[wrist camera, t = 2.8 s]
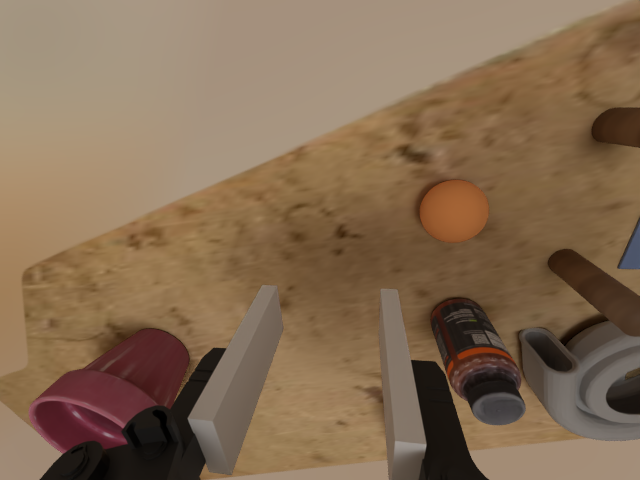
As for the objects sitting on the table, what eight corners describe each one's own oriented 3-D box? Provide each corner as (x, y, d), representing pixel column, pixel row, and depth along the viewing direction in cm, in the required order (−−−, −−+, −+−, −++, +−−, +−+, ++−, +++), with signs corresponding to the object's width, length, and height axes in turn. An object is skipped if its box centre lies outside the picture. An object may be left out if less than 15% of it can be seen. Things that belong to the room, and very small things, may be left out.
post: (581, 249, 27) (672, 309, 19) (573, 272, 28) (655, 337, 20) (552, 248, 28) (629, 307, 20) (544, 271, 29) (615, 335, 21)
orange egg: (480, 172, 26) (508, 188, 21) (470, 228, 28) (493, 254, 23) (417, 174, 26) (430, 190, 22) (412, 228, 29) (423, 253, 24)
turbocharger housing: (665, 386, 35) (688, 287, 29) (732, 442, 29) (777, 332, 23) (517, 405, 38) (512, 320, 32) (550, 460, 32) (551, 367, 26)
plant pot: (125, 372, 46) (47, 459, 35) (108, 305, 40) (6, 385, 29) (208, 391, 45) (156, 487, 34) (203, 325, 39) (138, 416, 28)
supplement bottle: (444, 342, 35) (477, 440, 25) (419, 309, 33) (445, 399, 23) (493, 324, 32) (551, 422, 22) (469, 287, 31) (521, 376, 21)
